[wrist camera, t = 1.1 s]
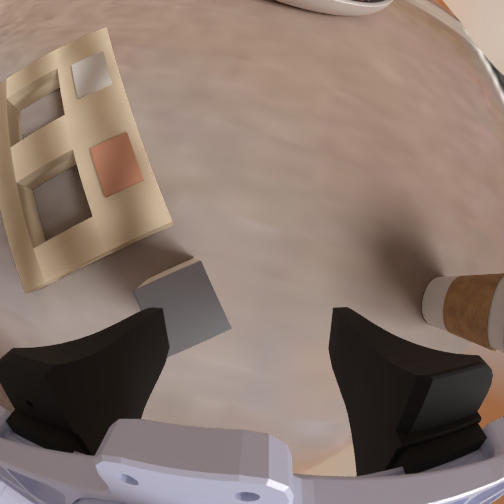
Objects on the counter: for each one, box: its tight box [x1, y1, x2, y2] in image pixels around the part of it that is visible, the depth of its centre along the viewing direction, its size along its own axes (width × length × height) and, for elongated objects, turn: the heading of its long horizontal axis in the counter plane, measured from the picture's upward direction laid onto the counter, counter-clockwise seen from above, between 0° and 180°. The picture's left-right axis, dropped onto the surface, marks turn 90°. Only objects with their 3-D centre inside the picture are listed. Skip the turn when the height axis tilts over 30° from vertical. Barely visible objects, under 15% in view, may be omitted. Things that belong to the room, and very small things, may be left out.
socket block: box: [0, 27, 173, 293], centre depth 18 cm, size 13×20×3 cm, turn 23°
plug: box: [133, 258, 231, 357], centre depth 19 cm, size 4×4×8 cm
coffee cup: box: [422, 274, 504, 352], centre depth 22 cm, size 8×8×15 cm
